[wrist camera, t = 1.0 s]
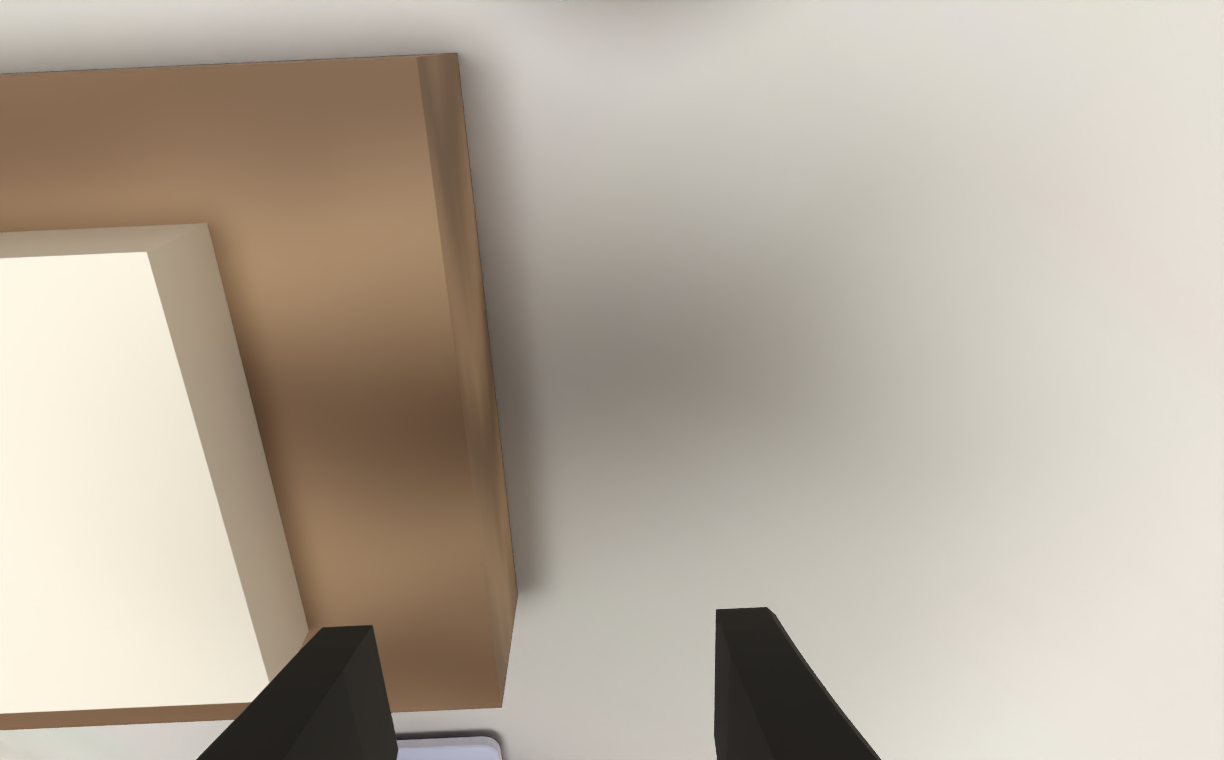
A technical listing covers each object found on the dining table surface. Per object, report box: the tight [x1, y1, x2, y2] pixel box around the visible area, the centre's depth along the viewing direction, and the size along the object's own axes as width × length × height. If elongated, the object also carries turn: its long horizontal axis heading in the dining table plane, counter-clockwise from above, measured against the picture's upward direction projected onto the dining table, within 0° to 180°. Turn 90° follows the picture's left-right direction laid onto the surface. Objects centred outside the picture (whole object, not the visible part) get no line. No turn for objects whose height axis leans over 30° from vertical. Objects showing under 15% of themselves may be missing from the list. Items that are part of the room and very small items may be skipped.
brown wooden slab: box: [0, 53, 518, 730], centre depth 17 cm, size 14×18×4 cm
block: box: [0, 223, 309, 714], centre depth 15 cm, size 9×6×2 cm, turn 2°
